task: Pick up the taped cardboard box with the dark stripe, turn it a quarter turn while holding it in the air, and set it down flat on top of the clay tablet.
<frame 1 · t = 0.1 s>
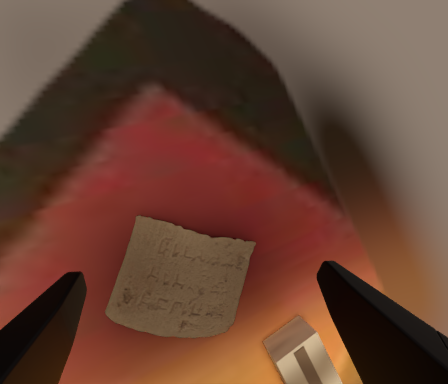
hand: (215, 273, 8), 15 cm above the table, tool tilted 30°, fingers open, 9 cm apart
taped cardboard box: (293, 353, 25), on the table
clay tablet: (185, 273, 23), on the table
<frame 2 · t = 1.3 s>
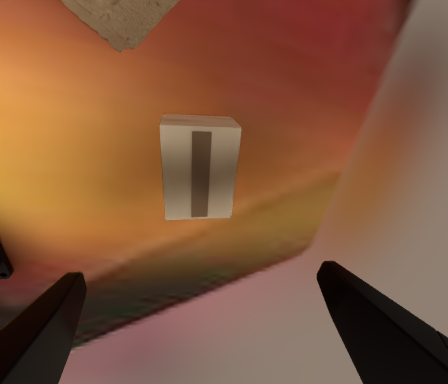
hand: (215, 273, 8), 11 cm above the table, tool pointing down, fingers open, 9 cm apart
taped cardboard box: (197, 158, 18), on the table
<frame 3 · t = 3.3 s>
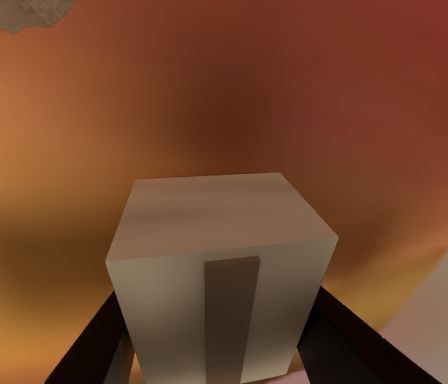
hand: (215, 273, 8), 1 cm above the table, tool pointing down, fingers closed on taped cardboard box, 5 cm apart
taped cardboard box: (211, 249, 9), on the table, touching gripper
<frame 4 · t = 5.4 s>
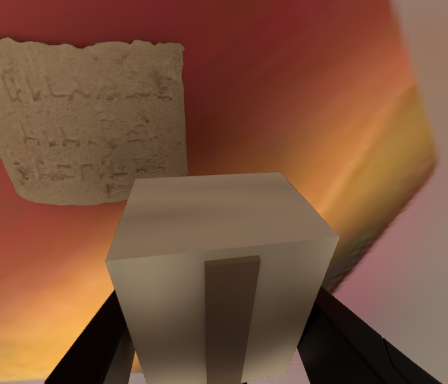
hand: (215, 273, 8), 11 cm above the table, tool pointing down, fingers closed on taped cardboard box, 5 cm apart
taped cardboard box: (211, 249, 9), point 10 cm above the table, touching gripper
clay tablet: (96, 124, 16), on the table
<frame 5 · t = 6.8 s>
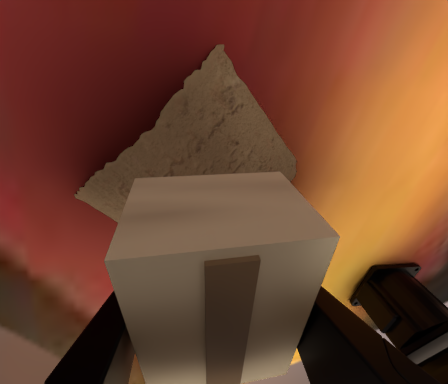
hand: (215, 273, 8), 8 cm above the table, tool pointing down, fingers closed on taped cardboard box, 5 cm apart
taped cardboard box: (211, 249, 9), point 7 cm above the table, touching gripper
clay tablet: (194, 176, 16), on the table
when the fingers open (6 cm above the table, at t = 8.0 s): taped cardboard box drops 3 cm, resting on clay tablet.
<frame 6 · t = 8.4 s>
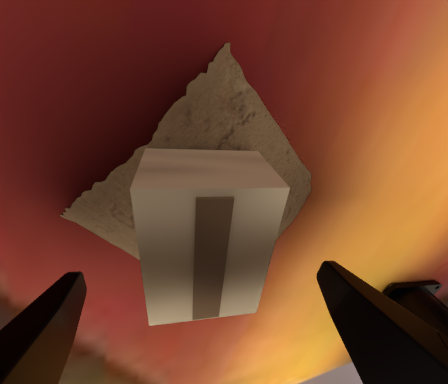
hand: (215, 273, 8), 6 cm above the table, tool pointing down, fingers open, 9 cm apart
taped cardboard box: (201, 213, 12), point 2 cm above the table, touching clay tablet
clay tablet: (197, 191, 14), on the table, touching taped cardboard box
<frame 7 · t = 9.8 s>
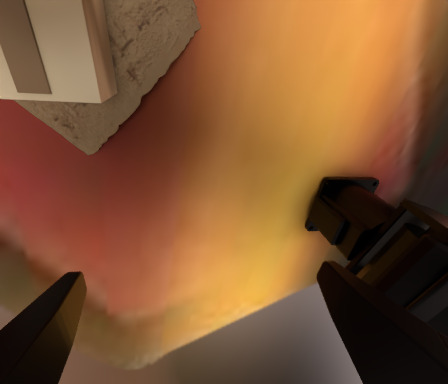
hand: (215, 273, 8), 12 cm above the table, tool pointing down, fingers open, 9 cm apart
taped cardboard box: (50, 12, 11), point 2 cm above the table, touching clay tablet
clay tablet: (78, 27, 13), on the table, touching taped cardboard box
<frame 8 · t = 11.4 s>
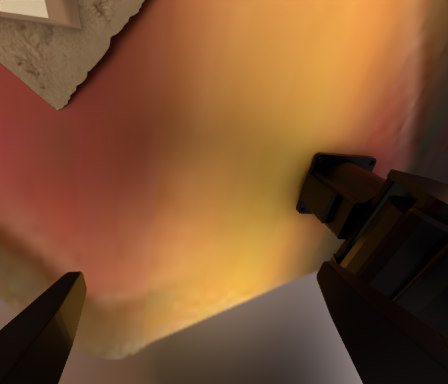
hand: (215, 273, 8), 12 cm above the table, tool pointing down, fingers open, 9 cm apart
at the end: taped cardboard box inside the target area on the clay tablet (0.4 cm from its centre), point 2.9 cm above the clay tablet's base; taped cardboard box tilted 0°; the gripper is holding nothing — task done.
